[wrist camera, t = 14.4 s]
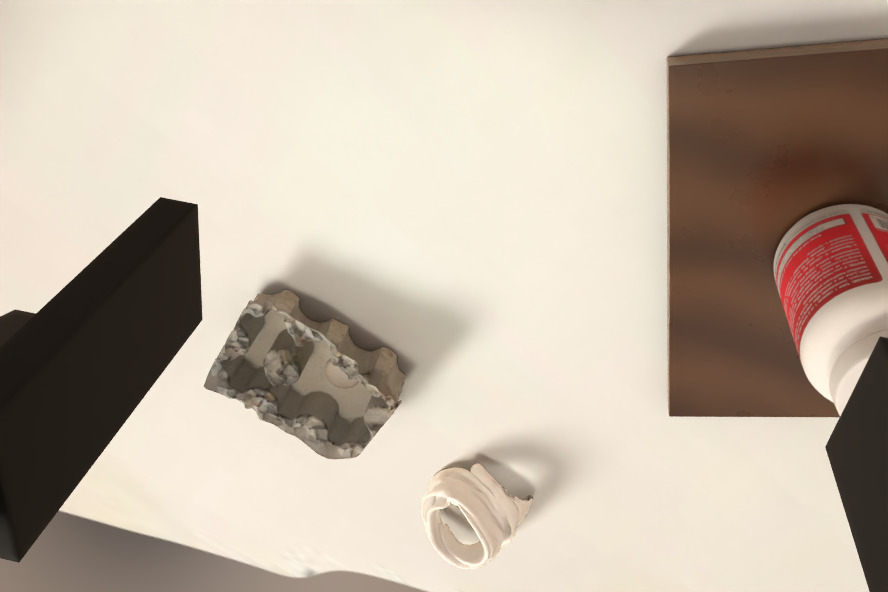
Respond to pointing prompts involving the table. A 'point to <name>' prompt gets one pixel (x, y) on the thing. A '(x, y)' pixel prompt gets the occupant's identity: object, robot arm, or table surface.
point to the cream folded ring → (472, 515)
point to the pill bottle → (835, 293)
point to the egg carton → (307, 376)
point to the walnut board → (759, 209)
